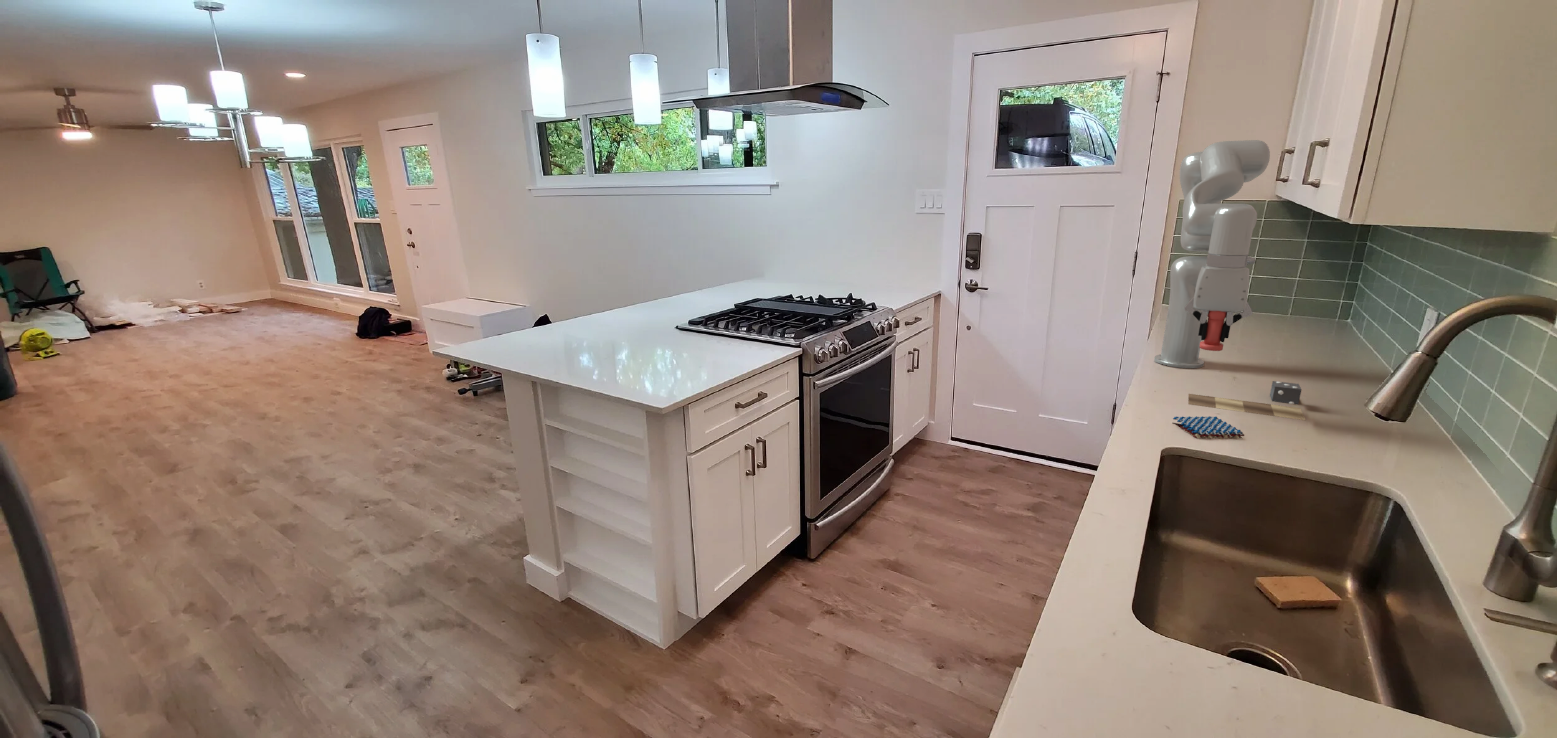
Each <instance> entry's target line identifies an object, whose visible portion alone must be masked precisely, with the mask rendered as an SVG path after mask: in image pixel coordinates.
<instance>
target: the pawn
mask: <svg viewBox="0 0 1557 738" xmlns="http://www.w3.org/2000/svg"><path fill="white" fill-rule="evenodd" d="M1226 316H1227V312H1221V311H1209V312H1208V315H1207V324H1208V325H1207V331H1206V337H1205V340H1202V341H1201V342H1200V346H1199V348H1200V350H1203V351H1204V350H1205V351H1210V352H1211V351H1212V352H1220V351H1223V348H1224V343H1223V342H1221V341H1220V340H1221V334H1222V329H1223V325H1224V321H1225V320H1226Z"/></svg>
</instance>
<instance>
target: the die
mask: <svg viewBox="0 0 1557 738" xmlns="http://www.w3.org/2000/svg"><path fill="white" fill-rule="evenodd" d="M1302 391H1303V390H1302V387H1301V386H1300V384H1299V383H1294V382H1285V381H1277V380H1272V383H1271V388H1270V393H1269V397H1270V400H1271V402H1276V403H1284V404H1291V405H1299V403H1300V398H1301V394H1302Z"/></svg>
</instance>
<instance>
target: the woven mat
mask: <svg viewBox="0 0 1557 738" xmlns="http://www.w3.org/2000/svg"><path fill="white" fill-rule="evenodd" d="M1172 419H1173V420H1177V421H1176V422H1177V423H1176V422H1172V424H1173V425H1175V426H1177V427H1178V428H1180V429H1181V430H1183V431H1184V432H1186V433H1188V434H1189V435H1191V436H1192V437H1193V438H1195V439H1197V440H1198V439H1209V440H1210V439H1216V438H1217V439H1219V440H1223V439H1225V440H1226V439H1236V440H1237V439H1243V437H1245V434H1244V433H1243V431H1241V429H1237V428H1236V427H1235V426H1232V425H1231V424H1230V423H1229V424H1228V423H1227V422H1226V421H1223V420H1222V419H1221V418H1218V416H1174V417H1173V418H1172Z"/></svg>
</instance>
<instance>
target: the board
mask: <svg viewBox="0 0 1557 738" xmlns="http://www.w3.org/2000/svg"><path fill="white" fill-rule="evenodd" d="M1187 396H1188V399H1187V400H1188V402H1187V403H1188V405H1189V406H1190V405H1191V406H1198V407H1205V408H1212V409H1213V408H1214V409H1221V410H1228V411H1235V412H1242V413H1248V414H1249V413H1250V414H1256V415H1257V414H1258V415H1265V416H1271V417H1277V418H1279V417H1280V418H1285V419H1286V418H1287V419H1293V420H1301V421H1306V418H1305V415H1304V414H1303V411H1302V409H1301V407H1294V406H1287V405H1280V404H1279V405H1278V404H1271V403H1265V402H1256V401H1249V400H1248V401H1247V400H1242V399H1241V400H1239V399H1232V398H1225V397H1217V396H1209V395H1202V394H1194V393H1188V395H1187Z"/></svg>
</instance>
